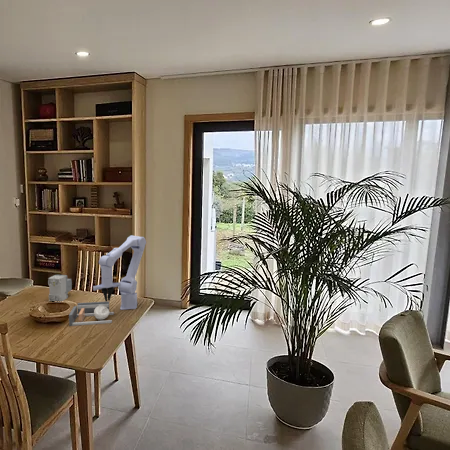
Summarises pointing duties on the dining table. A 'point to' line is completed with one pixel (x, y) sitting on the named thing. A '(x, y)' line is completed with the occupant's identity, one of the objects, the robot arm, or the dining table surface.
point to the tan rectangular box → (82, 315)
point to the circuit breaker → (59, 287)
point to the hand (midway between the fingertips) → (107, 300)
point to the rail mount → (88, 309)
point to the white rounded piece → (101, 312)
